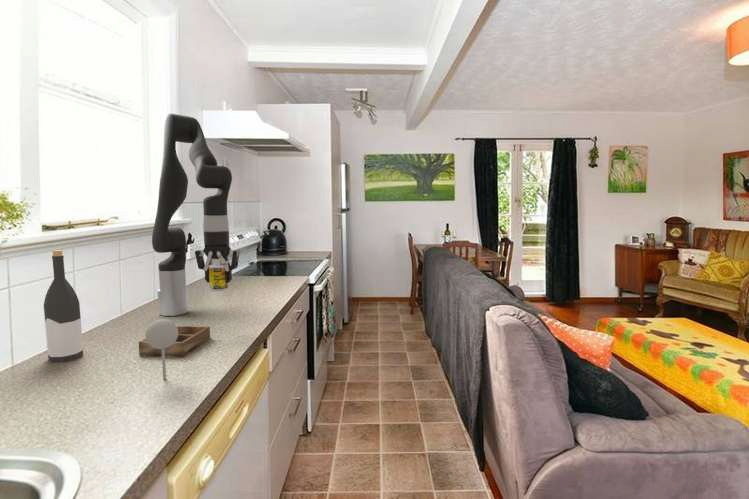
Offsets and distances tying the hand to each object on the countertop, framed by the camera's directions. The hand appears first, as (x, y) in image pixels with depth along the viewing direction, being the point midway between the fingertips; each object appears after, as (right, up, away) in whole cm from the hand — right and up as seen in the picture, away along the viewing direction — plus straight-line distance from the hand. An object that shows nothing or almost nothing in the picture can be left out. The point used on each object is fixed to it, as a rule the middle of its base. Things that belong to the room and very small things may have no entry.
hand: (218, 282), depth 138 cm
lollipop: (-1, -21, -33) cm, 39 cm away
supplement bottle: (0, -3, 0) cm, 3 cm away
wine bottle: (-36, -20, -18) cm, 45 cm away
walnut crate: (-9, -19, -9) cm, 23 cm away
